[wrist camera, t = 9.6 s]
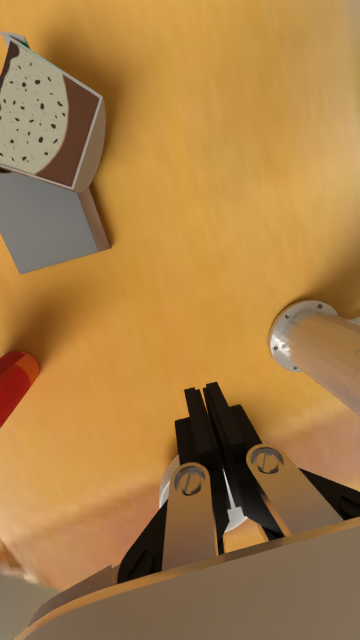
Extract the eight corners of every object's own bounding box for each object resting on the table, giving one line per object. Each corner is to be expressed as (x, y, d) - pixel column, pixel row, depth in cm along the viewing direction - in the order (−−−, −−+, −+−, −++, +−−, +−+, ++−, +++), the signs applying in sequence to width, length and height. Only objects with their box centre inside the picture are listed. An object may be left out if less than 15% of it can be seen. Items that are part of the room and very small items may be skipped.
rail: (57, 94, 29) (52, 85, 27) (111, 248, 34) (109, 248, 33) (45, 97, 29) (39, 89, 27) (100, 251, 34) (98, 251, 32)
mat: (43, 97, 29) (41, 95, 28) (99, 251, 34) (98, 251, 33) (-50, 122, 28) (-53, 120, 28) (21, 273, 33) (20, 274, 33)
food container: (117, 119, 30) (34, 77, 28) (108, 80, 24) (1, 24, 22) (85, 217, 31) (4, 183, 30) (68, 204, 25) (-34, 160, 24)
